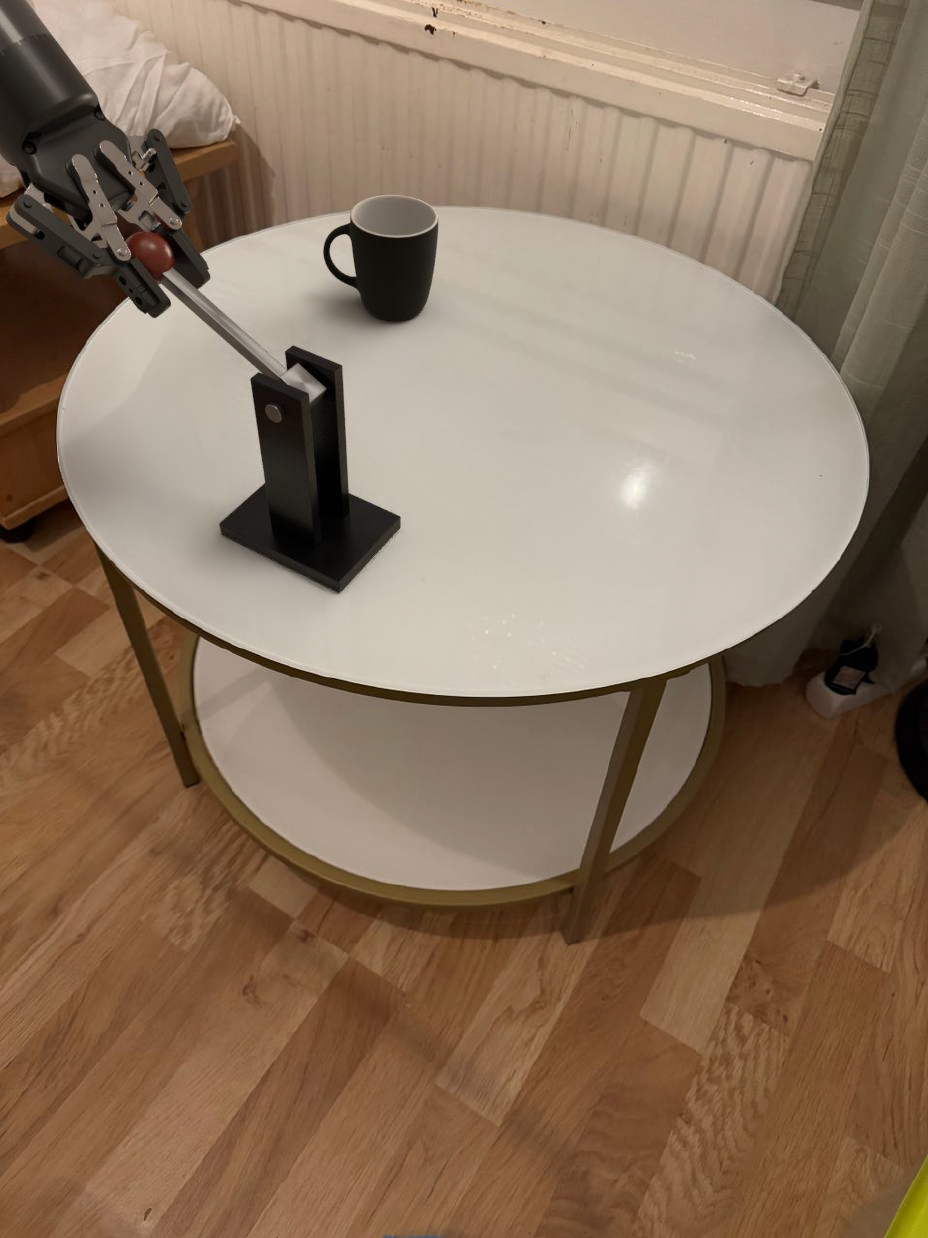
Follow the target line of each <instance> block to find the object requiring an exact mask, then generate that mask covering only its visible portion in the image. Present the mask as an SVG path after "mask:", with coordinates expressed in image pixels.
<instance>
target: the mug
mask: <svg viewBox="0 0 928 1238" xmlns="http://www.w3.org/2000/svg"><path fill="white" fill-rule="evenodd" d="M342 235H346V236H348V237H349V240H350V244H351V250H352V252H351V253H352V258H353V266H354V273H355V276H350V275H348V274H346V273H344V272H343V271H342V270H340V269H339V268H338V267H337V265H335V263H334V261H333V260H332V256H331V245H332V243H333V242H334V240H335V239H337V238H338V237H339V236H342ZM438 237H439V216H438V213H437V211H436V209H435V208H434V207H433V206H432V205H431V204H429V203H427V202H426V201H423V200H421V199H418V198H415V197H413V196H409V195H402V194H401V195H400V194H382V195H375V196H371V197H368V198H365V199H362V200H361V201H359V202H358V203H356V204H355V205H354V206H353V207H352V208H351V210H350V215H349V222H348V223H345V224H342V225H339V226H338V227H335V228H333V230H331V232H329V234H327V236H326V238H325V241H324V244H323V248H322V249H323V250H322V252H323V253H322V254H323V260H324V263H325V265H326V268H327V270H328V271H329V272H330V274H331V275H332V276H333V277H334V278H335V279H336V280H338V281H340V282H341V283H342V284H345V285H347V286H350V287H353V288H354V289H356V290H357V291H358V293H359V296H360V298H361V301H362V303H363V305H364V307H365V309H366V310H367V311H368V312H369V313H370V314H371V315H372V316H374V317H376V318H378V319H379V320H380V319H381V320H385V321H390V322H400V321H401V322H402V321H407V320H410V319H413V318H415V317H417V316H419V314H420V313H421V312H423V309H424V308H425V306H426V304H427V302H428V299H429V295H430V293H431V288H432V284H433V278H434V274H435V273H434V272H435V265H436V258H437V248H438V239H439V238H438Z"/></svg>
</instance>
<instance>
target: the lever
mask: <svg viewBox="0 0 928 1238" xmlns="http://www.w3.org/2000/svg"><path fill="white" fill-rule="evenodd" d="M124 241H125V243H126V245H127V246H128V248H129V250H130V253H131V257H130V258H131V259H132V260H133V259H134V258H136V257H137V258H138V259H139V261H140V262H141V263H142V264H143V266H144V267H145V268H146V269H147V271H148V272H149V273H150V275H151V276H152V277H153V278H154V280H155V281H156V282H157V284H158V285H159V286H160V285H162V286H163V287H164V288H165V289H167V290H168V291H169V292H170V293H171V294H172V295H173V296H174V297H175V298H176V299H178V300H179V301H180V302H181V303H182V304H183V305H185V306H186V308H188V309H189V310H190V311H191V312H192V313H193V314H195V315H196V316H197V318H199V319H200V320H201V321H203V322H204V323H205V324H206V325H207V326H208V327H209V328H210V329H211V330H213V331H214V332H215V333H216V334H217V335H218V336H219V337H220V338H221V339H223V340H224V341H225V342H226V343H227V344H228V345H229V346H231V348H233V349H234V350H235V351H236V352H237V353H238V354H240V356H242V357H243V358H244V359H245V360H246V361H247V362H249V363H250V364H251V365H252V366H253V367H254V368H256V369H257V370H258V371H259V372H260V373H262V374H264V375H267V376H269V377H272V378H274V379H276V380H279V381H281V382H283V383H286V384H288V385H290V386H293V387H295V388H297V389H300V390H302V391H305V392H307V393H309V401H310V413H311V412H312V411H314V410H315V409H316V408H317V407H318V405H319V403H320V401H321V399H322V397H323V395H324V393H325V391H326V387H325V386H323V385H322V384H321V383H320V382H319V381H318V380H317V379H316V378H314V377H313V376H312V375H311V374H310V373H309V372H308V371H307V370H305V369H304V368H303V367H302V366H301V365H300V364H299V363H297V364H295V365H294V366H293V367H292V368H290V369H289V370H287V367H285V366H284V365H283V364H282V363H281V362H279V360H278V359H276V358H275V357H274V356H273V355H272V354H271V353H270V352H269V351H267V350H266V349H265V348H264V347H263V346H262V345H261V344H260V343H258V342H257V341H256V340H255V339H254V338H253V337H251V336H250V335H249V334H248V333H247V332H246V331H244V329H242V328H241V327H240V326H239V325H238V324H237V323H236V322H235V321H234V320H232V318H230V317H229V315H227V314H226V313H224V312H223V311H222V310H221V309H220V308H219V307H218V306H217V305H215V303H213V301H211V300H210V299H209V298H208V297H207V296H205V295H204V294H203V293H202V292H201V291H200V290H199V289H198V290H197V289H196V288H195V287H194V286H193V285H192V284H191V283H190V282H188V281H187V280H186V279H185V278H184V277H183V276H182V275H181V274H179V273H178V272H177V271H176V270H175V269H174V265H175V258H174V254H173V251H172V249H171V247H170V245H169V244H168V243H167V241H166V240H165V239H163V238H162V237H161V236H159V235H157V234H155V233H152V232H146V231H144V230H143V231H137V232H135V233H133V234H131V235H130V236H128V237H127V238H126V240H124Z"/></svg>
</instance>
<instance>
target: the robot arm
mask: <svg viewBox="0 0 928 1238" xmlns="http://www.w3.org/2000/svg"><path fill="white" fill-rule="evenodd" d="M101 106H102V105H101V104H100V100H99V97H98V95H97V93H96V91H95V90H94V89H93V88H92V87H91V85H90V84H89V82H88V81H87V79H86V78H85V77H84V76H83V74H82V73H81V71H80V70H79V69H78V67H77V66H76V65H75V64H74V63H73V61H72V60H71V58H70V57H69V55H68V54H67V53H66V51H65V50H64V48H62V46H61V45H60V43H59V42H58V41H57V40H56V38H55V37H54V35H53V34H52V33H51V32H50V30H49V29H48V27H47V26H46V25H45V23H44V22H43V21H42V19H41V18H40V17H39V14H37V12H36V11H35V10H34V8H33V7H32V6H31V4H30V3H29V2H28V1H27V0H0V156H1V158H3V160H4V161H5V163H7V164H8V165H10V166H12V167H16V170H17V171H18V173H19V175H20V177H21V181H22V185H23V187H24V189H25V191H24V193H21V194H19V195H18V196H17V198H16V199H15V200H14V202H13V204H12V206H11V207H10V209H9V210H8V212H7V213H6V215H5V221H6V223H7V224H8V225H9V227H11V228H12V229H13V230H14V231H16V232H17V233H19V234H20V235H21V236H23V237H24V238H25V239H27V240H28V241H30V242H31V243H33V244H34V245H35V246H36V247H38V248H39V249H40V250H42V251H43V252H45V253H46V254H48V255H49V256H51V257H52V258H53V259H54V260H56V261H58V262H59V263H60V264H62V265H63V266H64V267H66V269H69V270H70V271H71V272H73V273H74V274H75V275H77V276H78V277H79V278H80V279H85V280H86V279H87V280H88V279H90V278H91V277H92V276H97V275H107V276H109V277H111V278H112V279H113V280H114V281H115V282H116V283H117V285H118V286H119V287H120V288H121V290H122V291H123V292H124V294H125V295H126V296H127V297H128V299H129V300H130V301H131V302H132V303H133V305H134V306H135V307H136V308H137V310H139V311H140V312H141V313H143V314H144V315H146V314H148V315H149V316H150V317H151V318H152V319H157V318H158V317H160V316H161V315H162V314H164V313H165V312H167V310H169V309H170V307H172V301H171V299H170V298H169V296H168V295H167V294H166V293H165V291H164V290H163V288H162V287H161V286H160V284H159V285H158V284H157V282H156V281H155V280H154V278H153V277H152V276H151V275H150V273H149V272H148V271H147V269H146V268H145V267H144V266H143V264H142V263H141V262H140V261H139V259H138V258H137V257H136V258H134V259H133V260H132V259H131V258H130V257H131V253H130V250H129V248H128V246H127V245H126V243H125V241H126V240H125V239H124V237H123V235H122V233H121V231H120V229H119V227H118V218H117V215H116V213H115V212H117V213H118V214H119V215H120V216H121V217H122V218H123V219H124V220H125V221H126V222H128V223H129V224H135V225H137V226H138V227H139V228H140V229H141V230H142V231H143V232H144V231H146V232H152V233H155V234H157V235H159V236H161V237H162V238H163V239H165V240H166V241H167V243H168V244H169V245H170V247H171V249H172V251H173V254H174V258H175V265H174V269H175V270H176V271H177V272H178V273H179V274H181V275H182V276H183V277H184V278H185V279H186V280H187V281H188V282H190V283H191V284H192V285H193V286H194V287H195V288H196V289H197V290H199V289H201V288H203V287H204V285H205V284H208V282H209V281H210V280H211V273H210V272H209V270H210V268H209V266H208V262H207V261H206V260H205V258H204V257H203V256H202V254H201V252H200V251H199V250H198V249H197V248H196V246H195V245H194V244H193V242H192V241H191V240H190V238H189V237H188V236H187V235H186V233H185V232H184V231H185V230H184V229H183V222H184V220H185V218H186V217H187V214H189V212H191V210H192V208H193V204H192V201H191V197H190V196H189V194H188V191H187V189H186V186H185V184H184V181H183V179H182V176H181V174H180V172H179V169H178V167H177V164H176V162H175V161H176V160H175V159H174V155H173V154H172V151H171V149H170V146H169V145H168V142H167V140H166V137H165V135H164V133H163V132H162V131H161V130H159V129H157V128H151V129H149V131H148V132H147V133H146V134H145V135H127V134H126V133H125V132H124V131H123V130H122V129H121V128H119V126H117V125H115V124H114V123H112V122H111V120H109V119H108V118H107V117H106V116H105V114H104V111H103V110H102V107H101ZM134 163H135V164H136V165H135V167H134ZM141 171H142V173H143V175H142V173H141ZM134 196H136V200H135V201H134V200H131V199H132V198H134ZM53 208H54V209H56V210H58V211H60V212H61V213H64V214H66V216H67V217H68V220H69V222H70V223H71V225H72V226H71V225H70V224H68V223H67V222H66V221H65V220H63V219H62V218H61V217H59V216H58V215H57V214H55V213H54V210H53Z"/></svg>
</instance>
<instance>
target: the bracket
mask: <svg viewBox="0 0 928 1238" xmlns="http://www.w3.org/2000/svg"><path fill="white" fill-rule="evenodd" d="M284 357H285V364H286V365H285V366H286V367H285V368H286V369H287V370H289V369H290V368H292V367H293V366H294V365H295V364H297V363H299V364H300V365H301V366H302V367H303V368H304V369H305V370H307V371H308V372H309V373H310V374H311V375H312V376H313V377H314V378H316V379H317V380H318V381H319V382H320V383H321V384H322V385H323V386H325V387H326V391H325V393H324V395H323V397H322V399H321V401H320V403H319V405H318V407H317V408H316V409H315V410H314V411H312V412H311V413H310V401H309V393H307V392H305V391H302V390H300V389H297V388H295V387H293V386H290V385H288V384H286V383H283V382H281V381H279V380H276V379H274V378H272V377H269V376H267V375H264V374H262V373H261V372H260V371H259V372H257V373H255V374H254V375H253V376H251V377H250V378H249V381H250V387H251V395H252V401H253V402H252V403H253V408H254V409H253V410H254V417H255V422H256V431H257V436H258V444H259V451H260V456H261V457H260V458H261V465H262V470H263V471H262V472H263V478H264V483H263V484H262V485H260V487H258V489H255V491H254V492H253V493H251V494H250V495H249V496H248V497H247V498H246V499H245V500H244V501H242V503H240V504H239V505H238V506H237V507H236V508H234V510H232V511H231V512H230V513H229V514H228V515H227V516H226V517H224V519H222V520H221V521H220V522H219V523H218V525H219V530H220V535H222V536H223V537H225V538H227V539H229V540H230V541H233V542H236V543H237V544H240V545H242V546H243V547H245V548H248V549H250V550H252V551H254V552H256V553H257V554H260V555H262V556H264V557H266V558H268V559H270V560H272V561H274V562H276V563H278V564H280V565H281V566H284V567H286V568H288V569H290V570H293V571H294V572H296V573H298V574H301V575H302V576H304V577H306V578H308V579H310V580H313V581H314V582H317V583H318V584H320V585H323V586H325V587H326V588H329V589H331V590H333V591H334V592H336V593H338V594H341V593H342V592H343V590H344V589H345V588H346V587H347V586H348V585H349V584H350V583H351V582H352V581H353V579H355V577H356V576H357V575H358V574H359V573H360V572H361V571H362V570H363V569H364V567H366V566H367V564H368V563H369V562H370V561H371V560H372V559H373V558H374V557H375V556H376V555H377V553H378V552H379V551H380V550H382V548H383V547H384V546H385V545H386V544H387V543H388V542H389V541H390V540H391V538H392V537H393V536H394V535H395V534H396V533H397V532H398V530H399V529H400V528H401V527H402V525H401V523H402V519H401V518H402V517H401V516H400V515H399V514H396V513H394V512H392V511H390V510H387V509H385V508H383V507H381V506H379V505H376V504H374V503H372V502H370V501H368V500H365V499H363V498H362V497H359V496H357V495H355V494H352V493H350V489H349V488H350V487H349V469H348V453H347V452H348V449H347V430H346V411H345V410H346V409H345V391H344V373H343V372H344V371H343V369H344V368H343V364H340V363H338V362H335V361H333V360H331V359H328V358H326V357H323V356H321V355H319V354H316V353H314V352H311V351H308V350H306V349H303V348H301V347H298V346H296V345H291V346H290V347H288V348H287V349H286V350H285V351H284Z"/></svg>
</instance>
